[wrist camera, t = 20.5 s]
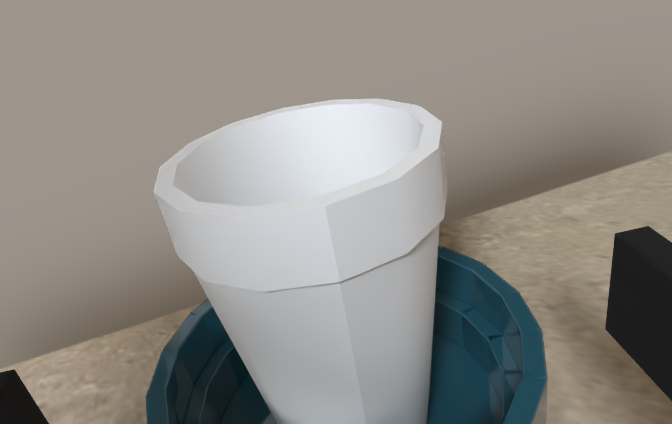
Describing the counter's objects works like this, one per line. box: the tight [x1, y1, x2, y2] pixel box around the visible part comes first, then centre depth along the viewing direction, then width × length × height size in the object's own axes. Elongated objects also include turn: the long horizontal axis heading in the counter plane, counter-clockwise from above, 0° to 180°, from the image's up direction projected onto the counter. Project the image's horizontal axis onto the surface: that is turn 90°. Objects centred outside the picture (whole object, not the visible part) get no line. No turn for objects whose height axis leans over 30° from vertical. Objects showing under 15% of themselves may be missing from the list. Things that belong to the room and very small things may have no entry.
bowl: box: [146, 246, 548, 424], centre depth 22 cm, size 16×16×5 cm
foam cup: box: [153, 99, 447, 424], centre depth 20 cm, size 10×9×13 cm
